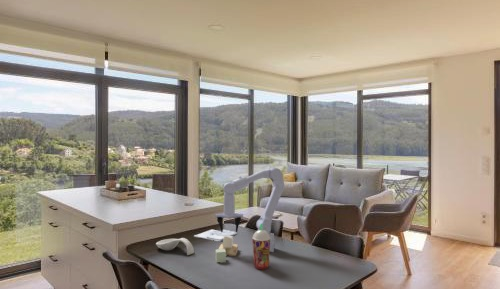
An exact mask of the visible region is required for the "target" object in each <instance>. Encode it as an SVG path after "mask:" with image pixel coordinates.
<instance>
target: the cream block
mask: <svg viewBox="0 0 500 289" xmlns="http://www.w3.org/2000/svg"><path fill="white" fill-rule="evenodd" d="M222 244H223V248H232V247H233V244H234V236H224V238H223V241H222Z"/></svg>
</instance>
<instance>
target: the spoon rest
mask: <svg viewBox="0 0 500 289" xmlns="http://www.w3.org/2000/svg"><path fill="white" fill-rule="evenodd" d="M180 242H181V243H183V244H184V246H186V255H187V256H190V255H192V254H195V249H194V246H193V244H192V243H191V241H189V239H187V238H185V237H181V238H166V239H162V240H158V241H157V242H156V243H155V245H156V247H158V248H159V249H160V250H162V251H172V250H174V249H176V247H177V246H178V244H179V243H180Z"/></svg>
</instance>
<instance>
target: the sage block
mask: <svg viewBox="0 0 500 289" xmlns="http://www.w3.org/2000/svg"><path fill="white" fill-rule="evenodd" d="M215 262H220V263H226V262H227V255H226V251H225V249H219V248H218V249H215Z"/></svg>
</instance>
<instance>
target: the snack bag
mask: <svg viewBox="0 0 500 289" xmlns="http://www.w3.org/2000/svg"><path fill="white" fill-rule="evenodd" d="M237 234H238V231H237V232H236V231H232V230H228V229H223V232H221V230H218V229H217V230H215V229H209V230H206V231H203V232H201V233H198V234H194V235H193V237H194V238H199V239H205V240H209V241H213V240H214V241H213V242H218V241H219V242H223V238H224V236H233V237H234V236H236V235H237Z"/></svg>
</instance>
